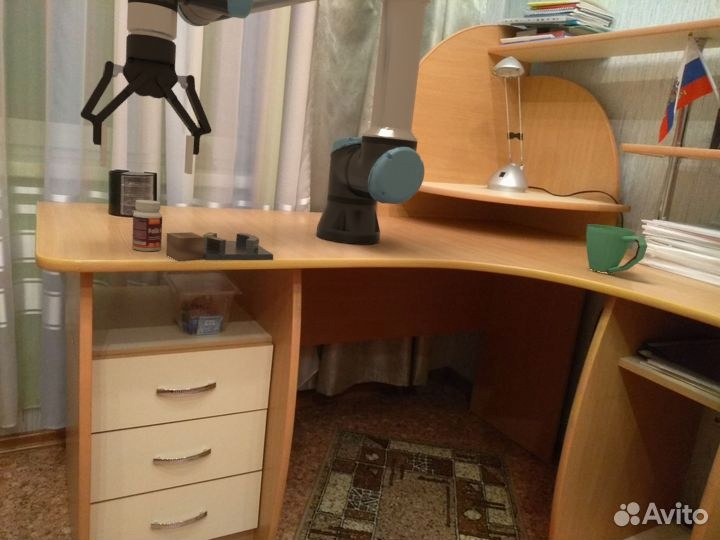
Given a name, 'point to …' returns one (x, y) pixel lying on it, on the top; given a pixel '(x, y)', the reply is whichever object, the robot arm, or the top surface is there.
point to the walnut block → (185, 246)
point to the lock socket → (234, 248)
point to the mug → (611, 247)
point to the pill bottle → (147, 226)
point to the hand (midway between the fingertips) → (147, 170)
